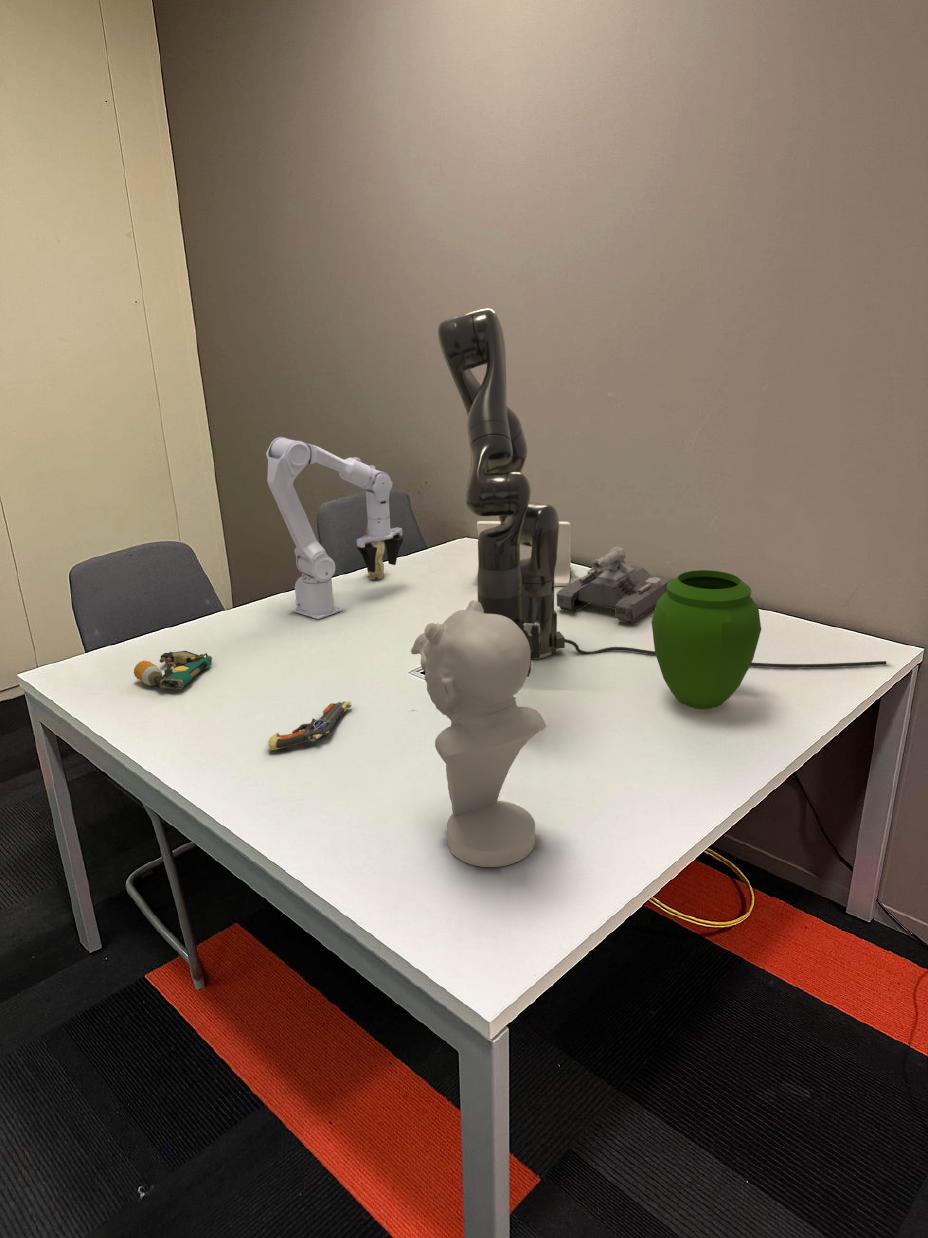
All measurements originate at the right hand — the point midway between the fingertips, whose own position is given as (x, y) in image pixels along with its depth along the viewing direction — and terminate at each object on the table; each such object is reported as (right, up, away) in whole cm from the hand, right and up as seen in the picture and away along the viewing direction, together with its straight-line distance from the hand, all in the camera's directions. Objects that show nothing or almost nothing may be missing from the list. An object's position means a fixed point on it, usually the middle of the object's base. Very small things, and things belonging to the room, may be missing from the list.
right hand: (500, 676), depth 151 cm
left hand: (-28, +24, +73) cm, 81 cm away
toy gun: (-34, -10, +6) cm, 36 cm away
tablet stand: (+11, +22, +88) cm, 92 cm away
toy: (+32, +14, +63) cm, 72 cm away
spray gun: (-67, -2, +30) cm, 74 cm away
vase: (+38, -6, +12) cm, 41 cm away
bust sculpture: (-6, -21, -26) cm, 34 cm away
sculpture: (-31, +22, +90) cm, 98 cm away
